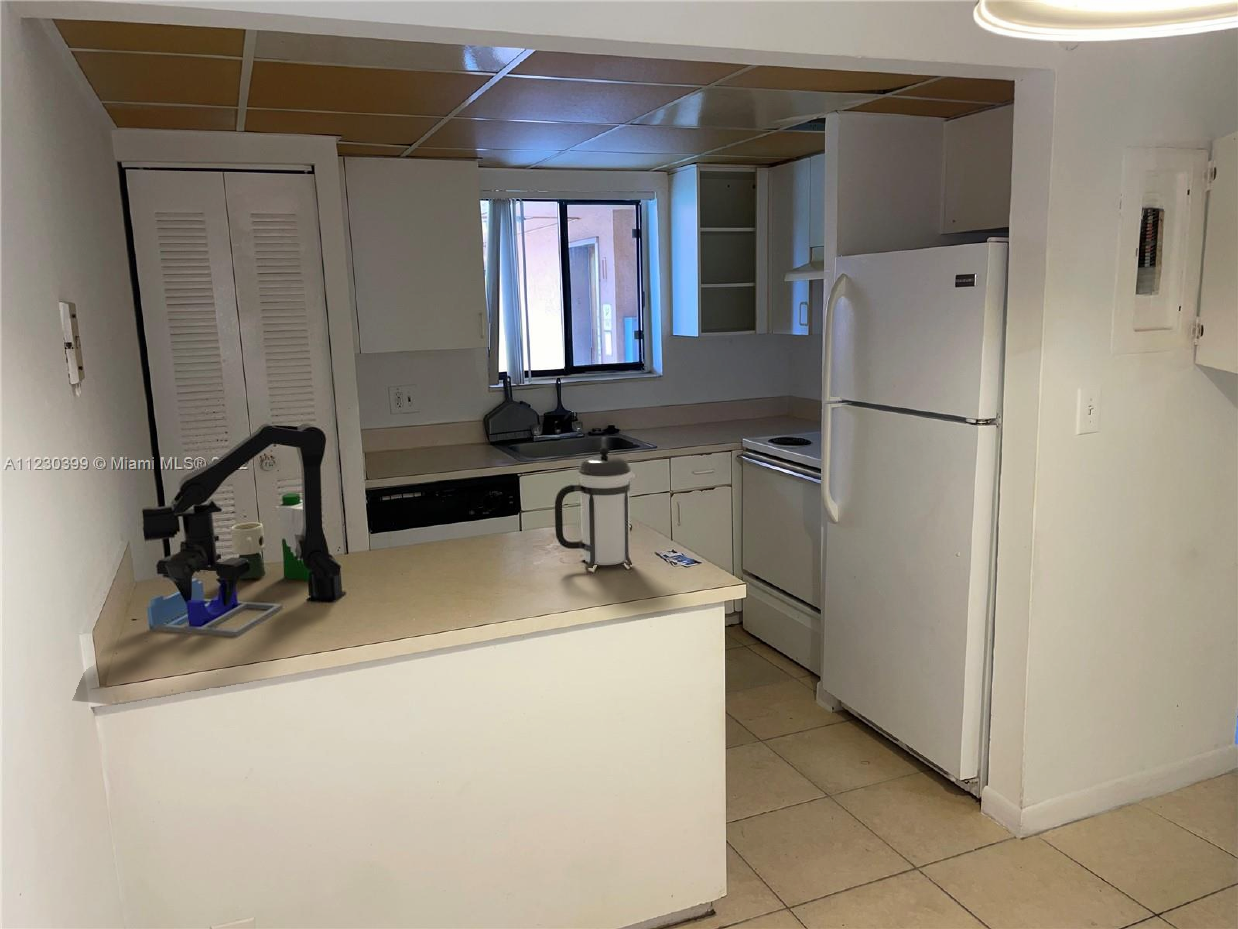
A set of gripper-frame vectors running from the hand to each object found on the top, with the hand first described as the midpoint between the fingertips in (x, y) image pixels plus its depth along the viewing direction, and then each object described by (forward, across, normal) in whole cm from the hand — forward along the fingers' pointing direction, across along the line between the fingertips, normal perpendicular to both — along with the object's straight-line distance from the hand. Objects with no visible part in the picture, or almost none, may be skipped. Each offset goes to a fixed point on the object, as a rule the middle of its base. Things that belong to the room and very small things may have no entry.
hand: (207, 604), depth 189 cm
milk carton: (+3, +4, +30) cm, 31 cm away
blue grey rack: (+3, +2, 0) cm, 4 cm away
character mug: (+3, -8, +26) cm, 27 cm away
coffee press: (+3, +74, +50) cm, 90 cm away
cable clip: (+4, +1, 0) cm, 4 cm away
